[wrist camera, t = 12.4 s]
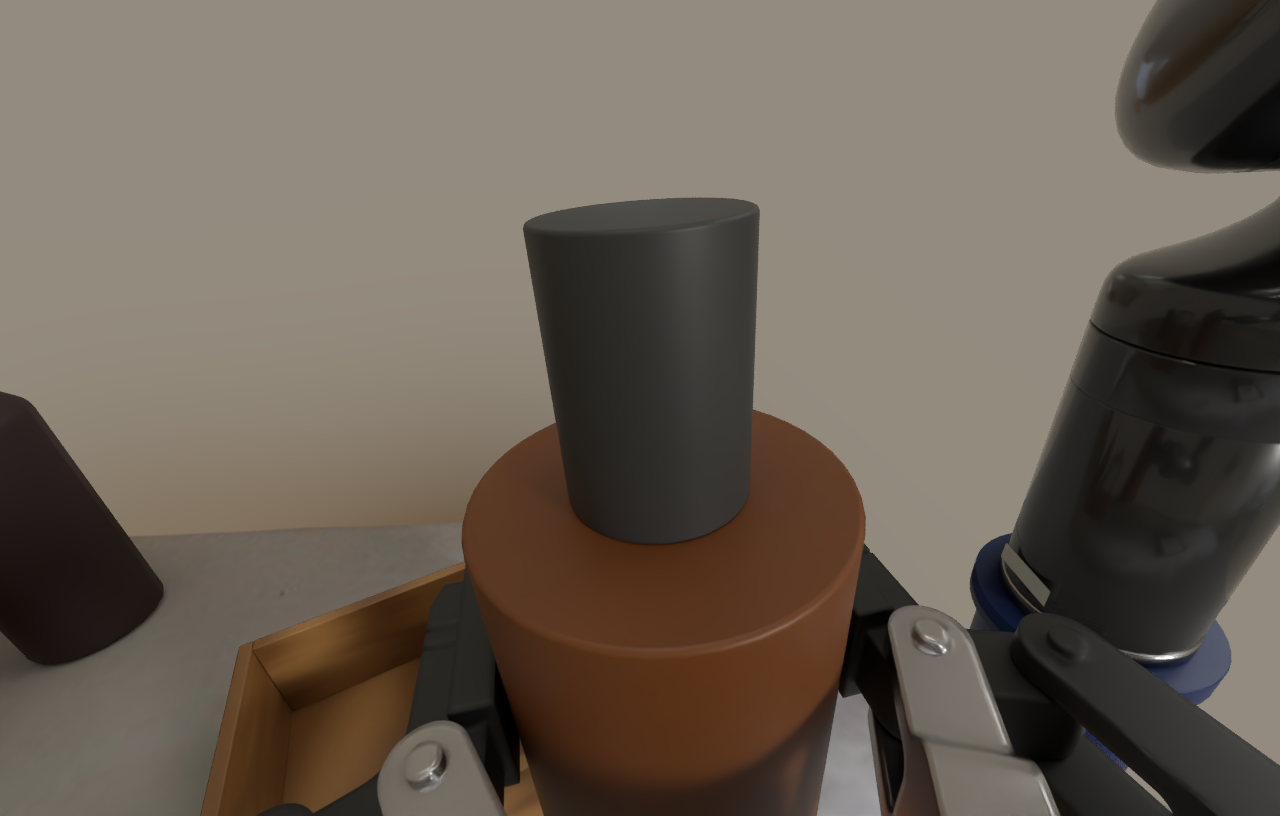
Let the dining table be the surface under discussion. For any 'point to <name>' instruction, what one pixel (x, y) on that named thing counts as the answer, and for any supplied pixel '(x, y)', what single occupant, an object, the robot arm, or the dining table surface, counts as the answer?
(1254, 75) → the robot arm
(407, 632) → the wooden box
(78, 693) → the dining table surface
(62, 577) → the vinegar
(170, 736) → the dining table surface
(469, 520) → the sauce bottle
